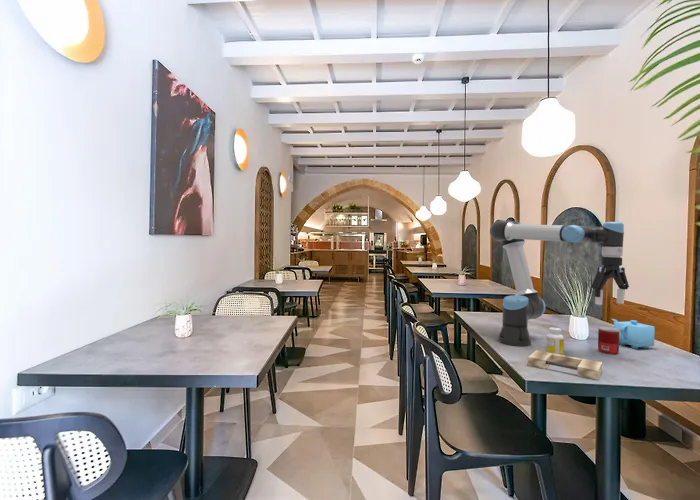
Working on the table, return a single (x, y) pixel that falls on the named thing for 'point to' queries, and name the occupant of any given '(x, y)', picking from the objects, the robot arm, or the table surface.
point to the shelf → (566, 363)
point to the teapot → (635, 334)
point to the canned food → (608, 340)
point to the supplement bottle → (555, 341)
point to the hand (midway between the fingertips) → (609, 303)
